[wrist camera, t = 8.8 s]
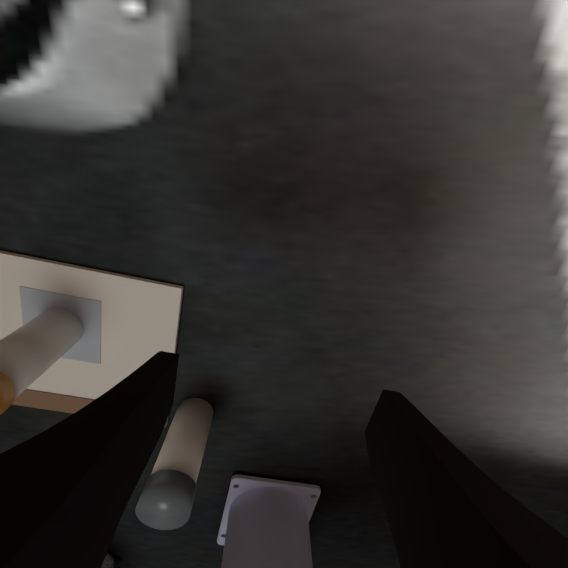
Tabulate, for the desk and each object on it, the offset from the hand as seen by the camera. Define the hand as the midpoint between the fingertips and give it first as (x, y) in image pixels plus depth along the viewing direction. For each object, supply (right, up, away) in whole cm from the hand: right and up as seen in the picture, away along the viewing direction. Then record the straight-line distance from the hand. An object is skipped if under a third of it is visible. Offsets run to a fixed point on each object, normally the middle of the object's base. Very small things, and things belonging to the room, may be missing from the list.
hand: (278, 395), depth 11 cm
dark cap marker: (-7, -6, +14) cm, 16 cm away
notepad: (-14, 0, +11) cm, 18 cm away
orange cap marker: (-15, +1, +10) cm, 18 cm away
